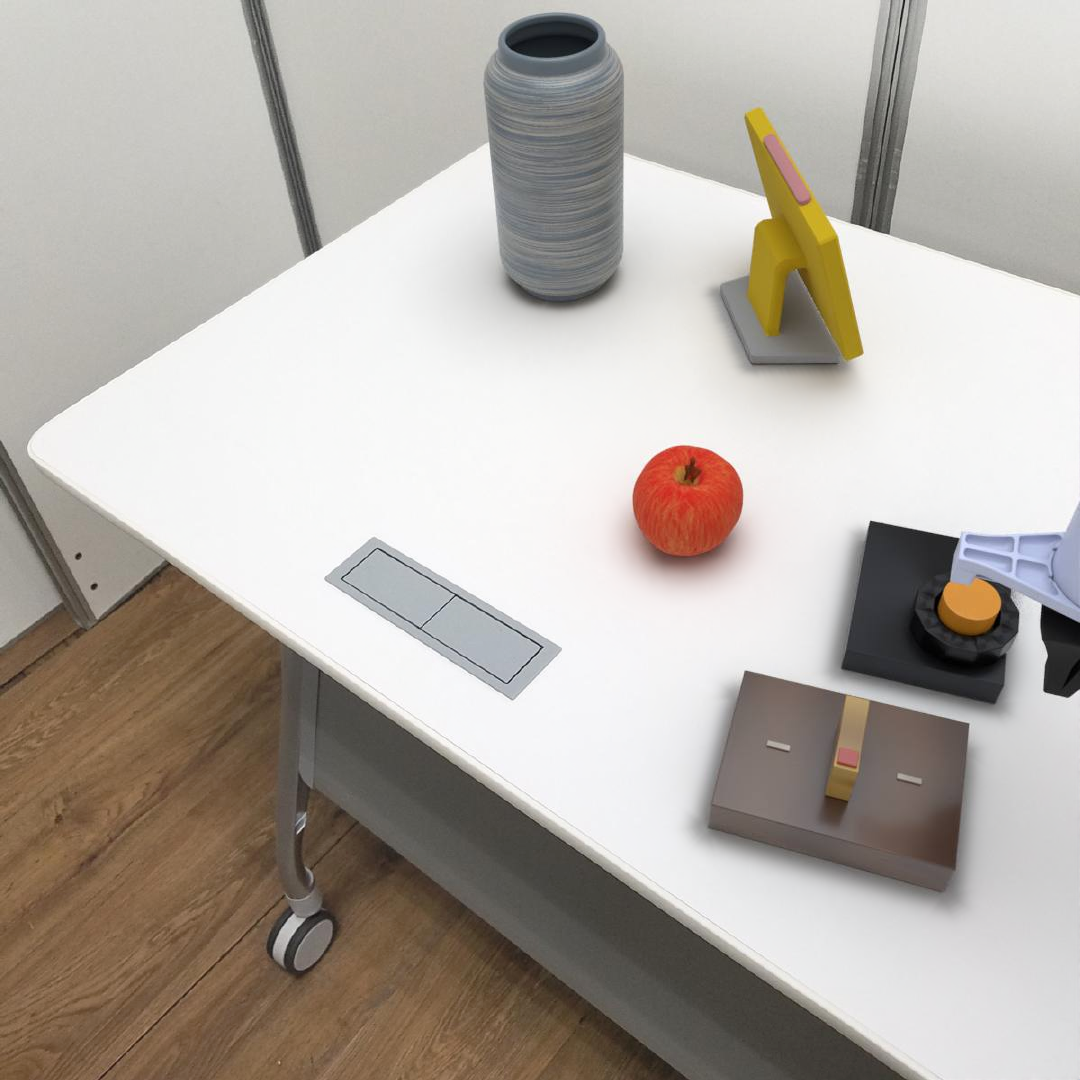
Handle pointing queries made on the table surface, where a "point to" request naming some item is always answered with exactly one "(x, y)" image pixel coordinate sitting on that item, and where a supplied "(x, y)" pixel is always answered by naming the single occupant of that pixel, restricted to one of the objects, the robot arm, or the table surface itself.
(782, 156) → the toy computer monitor
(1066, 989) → the table surface
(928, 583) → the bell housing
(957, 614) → the bell button
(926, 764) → the lock plate
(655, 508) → the apple
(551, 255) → the vase
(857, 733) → the wooden block
